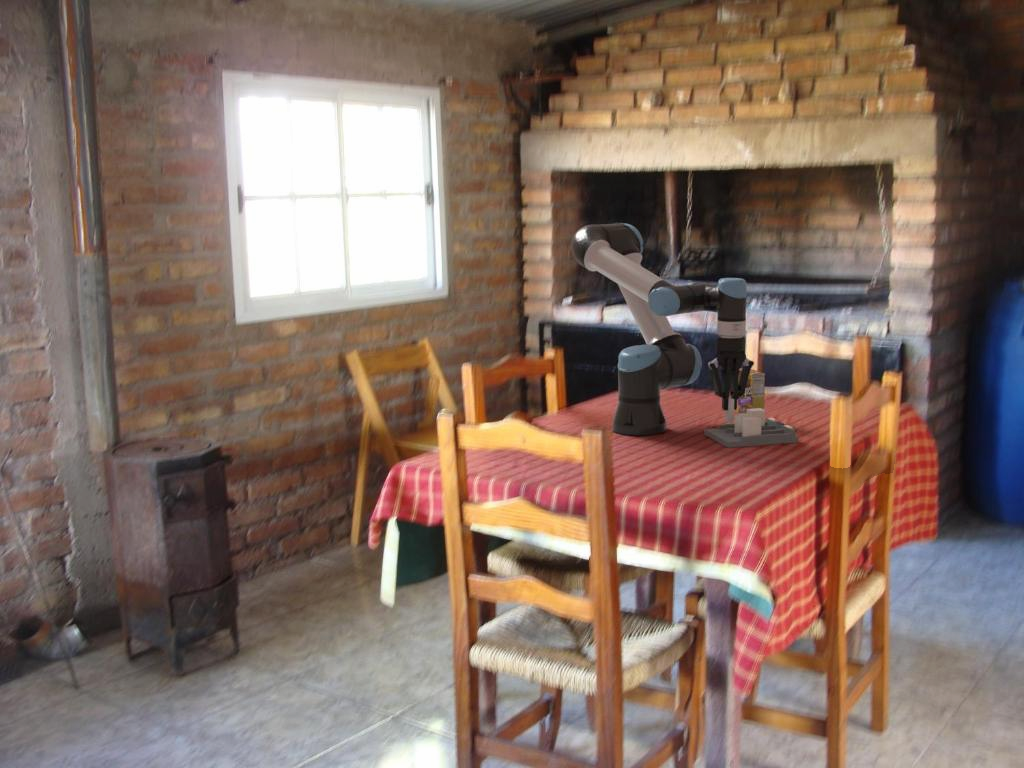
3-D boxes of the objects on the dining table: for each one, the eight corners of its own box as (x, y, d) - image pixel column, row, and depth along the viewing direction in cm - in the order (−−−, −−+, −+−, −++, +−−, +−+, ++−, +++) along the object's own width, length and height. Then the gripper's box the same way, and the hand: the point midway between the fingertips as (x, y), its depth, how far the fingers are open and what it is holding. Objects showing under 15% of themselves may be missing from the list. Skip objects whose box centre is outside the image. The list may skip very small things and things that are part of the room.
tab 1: (739, 434, 293) (739, 416, 292) (734, 432, 296) (734, 413, 295) (753, 433, 294) (753, 415, 293) (748, 431, 297) (748, 413, 296)
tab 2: (751, 429, 299) (751, 411, 298) (746, 426, 302) (746, 409, 301) (764, 428, 300) (765, 410, 299) (760, 425, 303) (760, 408, 302)
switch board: (727, 447, 286) (727, 433, 285) (704, 434, 301) (704, 421, 301) (798, 442, 290) (798, 428, 289) (772, 429, 305) (772, 416, 305)
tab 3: (746, 438, 288) (747, 419, 287) (742, 436, 291) (742, 417, 290) (761, 437, 289) (761, 418, 288) (756, 435, 292) (756, 416, 291)
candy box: (735, 420, 318) (736, 368, 316) (749, 419, 319) (749, 367, 317) (751, 426, 310) (752, 373, 307) (764, 425, 311) (765, 372, 308)
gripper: (714, 339, 290) (712, 426, 295) (759, 336, 293) (757, 423, 297) (703, 335, 297) (701, 420, 302) (747, 333, 300) (745, 417, 305)
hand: (729, 421), depth 300 cm, fingers closed
